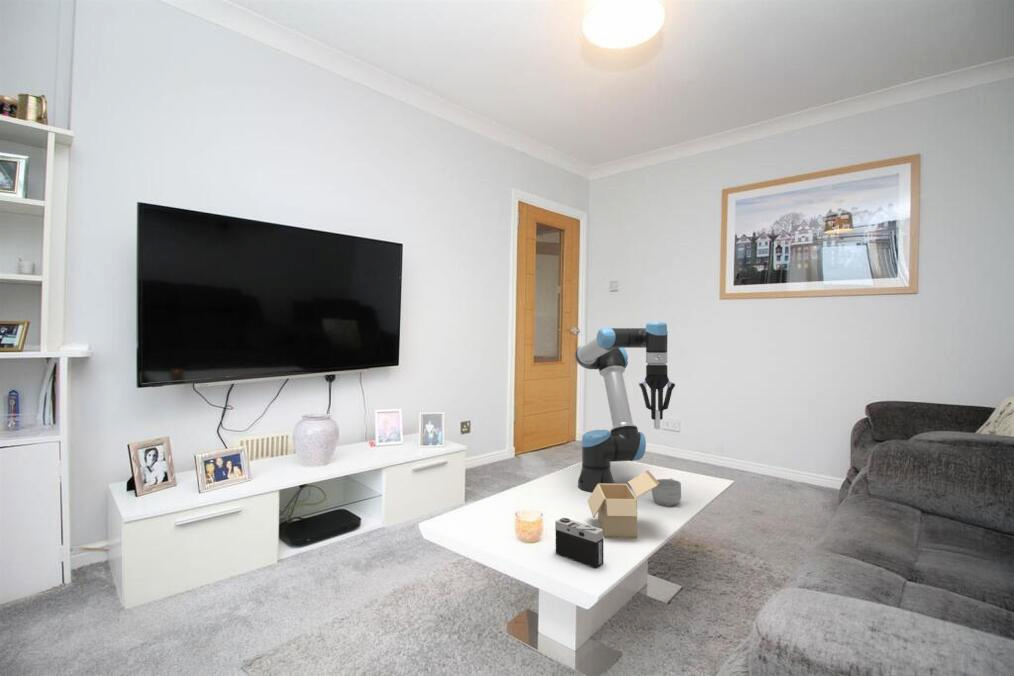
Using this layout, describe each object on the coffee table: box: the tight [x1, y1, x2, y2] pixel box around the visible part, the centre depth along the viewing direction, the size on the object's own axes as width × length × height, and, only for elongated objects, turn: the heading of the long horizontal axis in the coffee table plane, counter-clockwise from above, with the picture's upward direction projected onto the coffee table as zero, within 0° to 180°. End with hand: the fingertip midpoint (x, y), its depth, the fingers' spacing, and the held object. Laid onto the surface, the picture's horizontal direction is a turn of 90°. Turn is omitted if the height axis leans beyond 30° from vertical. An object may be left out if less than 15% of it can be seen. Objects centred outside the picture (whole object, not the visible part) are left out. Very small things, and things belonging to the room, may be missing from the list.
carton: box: [587, 483, 639, 539], centre depth 160 cm, size 14×21×12 cm, turn 177°
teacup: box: [651, 477, 682, 506], centre depth 185 cm, size 14×11×8 cm
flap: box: [627, 469, 660, 498], centre depth 160 cm, size 1×16×8 cm
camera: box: [554, 517, 605, 569], centre depth 139 cm, size 14×8×10 cm, turn 47°
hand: (657, 428), depth 178 cm, fingers closed
